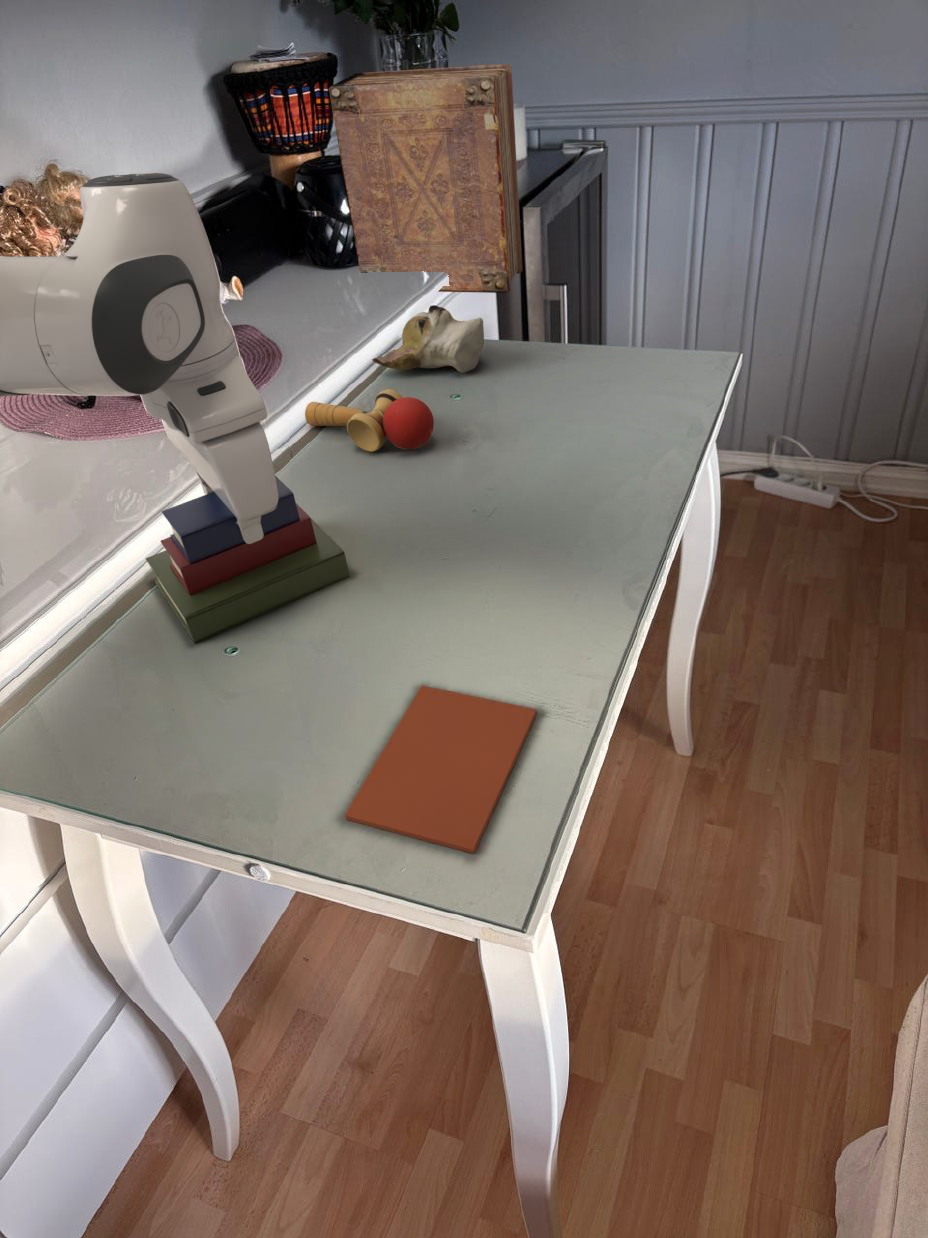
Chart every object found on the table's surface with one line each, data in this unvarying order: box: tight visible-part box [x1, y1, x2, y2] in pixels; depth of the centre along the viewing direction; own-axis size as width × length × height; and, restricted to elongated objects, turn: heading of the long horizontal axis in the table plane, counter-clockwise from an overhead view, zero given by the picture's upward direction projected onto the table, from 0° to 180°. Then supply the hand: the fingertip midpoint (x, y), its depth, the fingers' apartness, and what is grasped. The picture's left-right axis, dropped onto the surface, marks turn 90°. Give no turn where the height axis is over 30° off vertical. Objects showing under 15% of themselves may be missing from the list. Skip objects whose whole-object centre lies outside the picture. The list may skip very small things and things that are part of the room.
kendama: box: [304, 388, 435, 453], centre depth 109 cm, size 8×6×18 cm
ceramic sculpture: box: [371, 304, 485, 374], centre depth 123 cm, size 11×9×15 cm
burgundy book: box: [160, 502, 317, 596], centre depth 87 cm, size 13×6×3 cm, turn 123°
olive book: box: [145, 518, 351, 644], centre depth 89 cm, size 16×12×3 cm
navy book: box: [161, 475, 300, 564], centre depth 85 cm, size 11×6×3 cm, turn 123°
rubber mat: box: [344, 685, 538, 854], centre depth 69 cm, size 14×10×1 cm
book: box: [328, 63, 523, 294], centre depth 141 cm, size 25×9×30 cm, turn 73°
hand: (233, 516), depth 85 cm, fingers open, 8 cm apart
